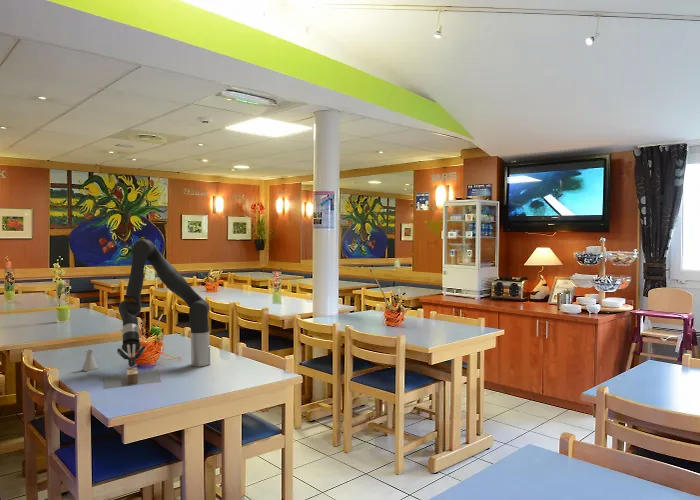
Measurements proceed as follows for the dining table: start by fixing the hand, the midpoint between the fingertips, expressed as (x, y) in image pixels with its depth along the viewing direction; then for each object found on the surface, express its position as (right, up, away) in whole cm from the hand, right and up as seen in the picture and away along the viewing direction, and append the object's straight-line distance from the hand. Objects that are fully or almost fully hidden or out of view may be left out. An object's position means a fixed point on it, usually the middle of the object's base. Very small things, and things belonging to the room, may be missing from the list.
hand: (131, 365), depth 241 cm
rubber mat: (+1, -6, -1) cm, 6 cm away
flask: (-28, -6, +17) cm, 34 cm away
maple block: (-1, -4, +2) cm, 4 cm away
